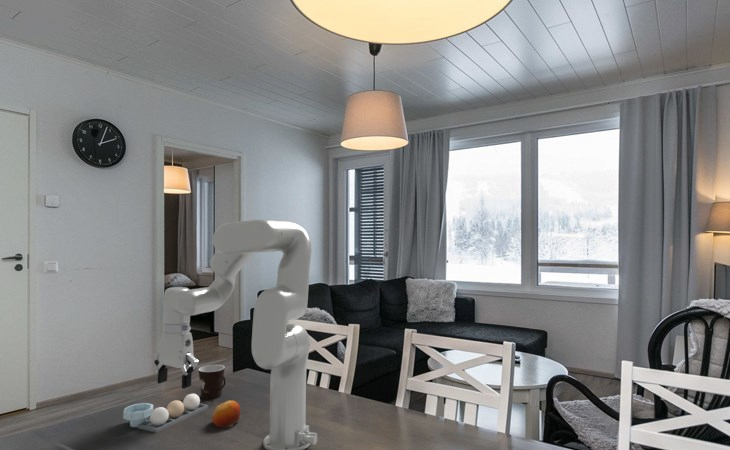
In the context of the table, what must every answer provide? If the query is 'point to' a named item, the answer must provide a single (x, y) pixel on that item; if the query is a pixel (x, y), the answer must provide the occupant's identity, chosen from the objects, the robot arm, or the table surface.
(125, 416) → the egg cup
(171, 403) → the egg brown
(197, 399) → the white egg
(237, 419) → the fruit
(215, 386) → the coffee mug
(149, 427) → the egg tray
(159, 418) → the white egg
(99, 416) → the table surface
